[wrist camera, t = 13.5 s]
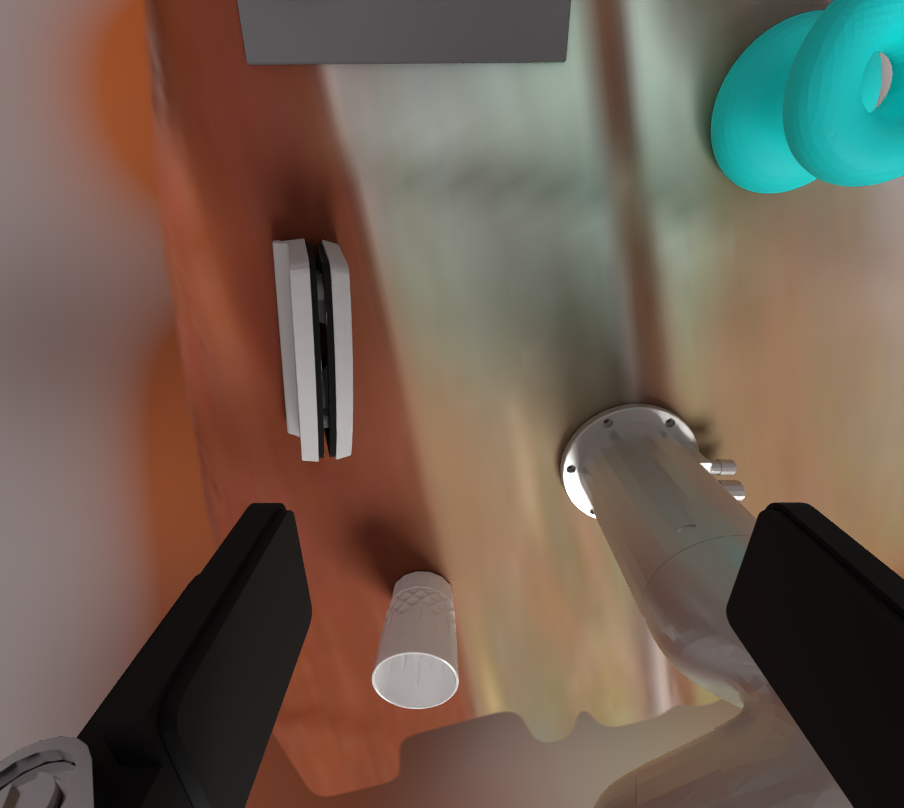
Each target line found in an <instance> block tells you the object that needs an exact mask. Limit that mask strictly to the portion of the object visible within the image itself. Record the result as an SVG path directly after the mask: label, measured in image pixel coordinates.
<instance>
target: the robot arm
mask: <svg viewBox="0 0 904 808" xmlns="http://www.w3.org/2000/svg"><path fill="white" fill-rule="evenodd" d="M606 419H607V420H606ZM605 420H606V421H605ZM560 472H561V480H562V483H563V487H564V489H565V491H566V493H567V496H568V497H569V499H570V500H571V501H572V503H573V504H574V505H575V506H576V507H577V508H578V509H579V510H581V511H582V512H583V513H585V514H587V515H588V516H590V517H593V518H596V519H597V521H598V523H599V525H600V527H601V529H602V531H603V534H604V536H605V538H606V540H607V542H608V544H609V546H610V548H611V550H612V552H613V555H614V557H615V559H616V561H617V563H618V565H619V567H620V569H621V571H622V573H623V576H624V578H625V580H626V582H627V584H628V586H629V588H630V590H631V592H632V595H633V597H634V599H635V601H636V603H637V605H638V607H639V609H640V611H641V613H642V616H643V618H644V620H645V622H646V624H647V626H648V628H649V630H650V632H651V634H652V636H653V638H654V640H655V641H656V643H657V645H658V646H659V648H660V650H661V651H662V652H663V654H664V655H665V656H666V657H667V659H668V660H669V661H670V662H671V663H672V664H673V665H674V666H675V667H676V668H677V669H678V670H679V671H680V672H681V673H682V674H684V675H685V676H686V677H688V678H689V679H690V680H692V681H693V682H694V683H696V684H698V685H699V686H701V687H702V688H704V689H706V690H707V691H709V692H711V693H713V694H714V695H716V696H718V697H720V698H722V699H724V700H726V701H728V702H730V703H732V704H734V705H736V706H737V707H740V708H741V709H742V710H741V712H740V713H739V714H738V715H737V716H735V717H734V718H732V719H730V720H729V721H727V722H725V723H723V724H722V725H720V726H718V727H716V728H715V729H714V731H711V732H709V733H707V734H705V735H703V736H701V737H699V738H697V739H695V740H693V741H691V742H689V743H687V744H685V745H683V746H681V747H678V748H676V749H674V750H672V751H670V752H668V753H666V754H664V755H662V756H660V757H658V758H656V759H654V760H652V761H650V762H648V763H646V764H643V765H642V766H641V767H638V768H637V769H635V770H633V771H631V772H629V773H627V774H626V775H624V776H623V777H621V778H619V779H618V780H616V781H615V782H613V783H612V784H611V785H610V786H609V787H608V788H607V789H606V790H605V791H604V792H603V793H602V794H601V795H600V797H599V799H598V801H597V802H596V804H595V805H594V808H904V579H903V578H901V577H900V576H899V575H898V574H896V573H895V572H894V571H893V570H891V569H890V568H889V567H888V566H886V565H885V564H884V563H883V562H881V561H880V560H879V559H878V558H876V557H875V556H874V555H873V554H871V553H870V552H869V551H868V550H866V549H865V548H864V547H863V546H861V545H860V544H859V543H858V542H856V541H855V540H854V539H853V538H851V537H850V536H849V535H848V534H846V533H845V532H844V531H843V530H841V529H840V528H839V527H838V526H836V525H835V524H834V523H833V522H831V521H830V520H829V519H828V518H826V517H825V516H824V515H823V514H821V513H820V512H819V511H818V510H816V509H815V508H814V507H812V506H811V505H809V504H806V503H771V504H770V505H768V506H767V507H766V509H765V510H764V511H762V512H760V513H759V515H758V518H757V519H756V518H755V517H754V516H753V515H752V514H751V513H750V512H749V511H748V510H747V509H746V508H745V507H744V506H743V505H742V504H741V503H740V501H742V500H743V498H744V492H745V491H744V488H743V485H742V484H741V482H739V481H737V480H716V479H715V478H714V477H713V476H712V475H711V474H717V475H734V474H735V472H736V464H735V462H734V461H733V460H731V459H717V460H708V459H707V458H706V457H704V456H703V455H702V454H701V453H700V452H699V449H698V443H697V441H696V438H695V436H694V433H693V432H692V431H691V429H690V428H689V427H688V425H687V424H686V423H685V422H684V421H683V420H681V419H680V418H679V417H678V416H677V415H675V414H674V413H672V412H671V411H669V410H667V409H664V408H662V407H659V406H655V405H650V404H626V405H620V406H616V407H613V408H610V409H608V410H605V411H603V412H601V413H599V414H597V415H595V416H593V417H592V418H591V419H589V420H588V421H587V422H585V423H584V424H583V425H581V427H580V428H579V429H578V430H577V431H576V432H575V433H574V434H573V435H572V437H571V439H570V440H569V442H568V443H567V445H566V447H565V450H564V452H563V455H562V459H561V465H560ZM311 616H312V606H311V600H310V595H309V590H308V584H307V579H306V574H305V568H304V563H303V558H302V553H301V547H300V542H299V537H298V532H297V526H296V521H295V516H294V513H293V512H292V511H291V510H286V508H285V506H284V505H283V504H282V503H253V504H251V505H250V506H249V507H248V508H247V509H246V511H245V512H244V513H243V515H242V516H241V518H240V519H239V520H238V522H237V523H236V525H235V526H234V527H233V529H232V530H231V531H230V533H229V534H228V536H227V537H226V538H225V540H224V541H223V543H222V544H221V545H220V547H219V548H218V550H217V551H216V552H215V554H214V555H213V557H212V558H211V559H210V561H209V562H208V564H207V565H206V566H205V568H204V569H203V570H202V572H201V573H200V574H199V575H197V576H195V578H194V579H193V580H192V581H191V582H190V583H189V584H188V586H187V587H186V588H185V590H184V591H183V593H182V594H181V595H180V597H179V598H178V600H177V601H176V602H175V604H174V605H173V607H172V608H171V609H170V610H169V612H168V613H167V614H166V616H165V618H164V619H163V620H162V621H161V623H160V624H159V625H158V627H157V628H156V630H155V631H154V633H153V634H152V635H151V637H150V638H149V639H148V641H147V642H146V643H145V645H144V646H143V647H142V649H141V650H140V652H139V653H138V654H137V656H136V657H135V658H134V660H133V661H132V662H131V664H130V665H129V667H128V668H127V669H126V671H125V672H124V673H123V675H122V676H121V678H120V679H119V680H118V682H117V683H116V685H115V686H114V687H113V689H112V690H111V691H110V693H109V694H108V696H107V697H106V698H105V700H104V701H103V702H102V704H101V705H100V707H99V708H98V709H97V710H96V712H95V713H94V715H93V716H92V717H91V719H90V720H89V721H88V723H87V724H86V726H85V727H84V728H83V730H82V731H81V732H80V734H79V735H78V737H77V738H75V737H65V736H59V737H54V738H49V739H45V740H40V741H38V742H36V743H34V744H31V745H29V746H27V747H25V748H22V749H20V750H18V751H16V752H14V753H13V754H11V755H9V756H8V757H6V758H5V759H3V760H2V761H0V808H245V805H246V802H247V800H248V797H249V794H250V791H251V788H252V785H253V783H254V780H255V777H256V774H257V772H258V769H259V766H260V763H261V760H262V758H263V755H264V752H265V749H266V746H267V744H268V740H269V738H270V735H271V732H272V730H273V727H274V724H275V721H276V718H277V716H278V713H279V710H280V707H281V704H282V702H283V699H284V696H285V693H286V690H287V688H288V685H289V682H290V679H291V676H292V674H293V671H294V668H295V665H296V662H297V660H298V657H299V654H300V651H301V648H302V646H303V643H304V640H305V637H306V634H307V632H308V629H309V626H310V622H311Z"/></svg>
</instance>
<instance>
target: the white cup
mask: <svg viewBox="0 0 904 808" xmlns="http://www.w3.org/2000/svg"><path fill="white" fill-rule="evenodd" d="M372 684H373V687H374V689H375V690H376V692H377V693H378V694H379V695H380V696H381V697H382V698H383V699H385V700H386V701H388V702H390V703H392V704H394V705H397V706H400V707H404V708H411V709H423V708H430V707H434V706H437V705H440V704H442V703H444V702H446V701H447V700H448V699H450V698H451V697H452V696H453V695H454V693H455V692H456V690H457V688H458V684H459V677H458V659H457V638H456V626H455V613H454V607H453V593H452V589H451V585H450V584H449V583H448V582H447V581H446V580H445V579H444V578H443V577H442V576H439V575H437V574H434V573H432V572H422V571H416V572H413V573H410V574H407V575H404V576H403V577H402V578H401V579H399V580H398V581H397V582H396V583H395V586H394V590H393V593H392V597H391V602H390V605H389V607H388V610H387V614H386V618H385V622H384V627H383V630H382V633H381V638H380V643H379V647H378V652H377V656H376V661H375V665H374V669H373V674H372Z"/></svg>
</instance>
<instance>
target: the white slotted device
mask: <svg viewBox="0 0 904 808" xmlns="http://www.w3.org/2000/svg"><path fill="white" fill-rule="evenodd" d="M272 243H273V256H274V268H275V281H276V294H277V306H278V319H279V331H280V344H281V357H282V369H283V382H284V394H285V407H286V420H287V432H288V433H290V434H293V435H296V436H299V437H301V449H302V460H304V461H319V458H324V432H325V437H326V441H327V446H328V451H329V455H330V457H333V456H335V459H336V460H337V459H340V458H343V457H346V456H350V455H351V450H352V430H353V352H352V320H351V298H350V278H349V268H348V264H347V262H346V260H345V258H344V256H343V254H342V252H341V249H340V247H339V245H338V244H335V243H332V242H329V241H325V240H322V244H317V259H318V269H319V270H318V271H316V264H315V259H314V255H313V251H312V247H311V243H305V240H304V239H295V240H286V241H280V240H275V241H273V242H272ZM319 322H321V323H323V324H325V325H326V350H327V366H325V367H324V368H322V366H321V345H320V326H319Z"/></svg>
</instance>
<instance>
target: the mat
mask: <svg viewBox="0 0 904 808" xmlns="http://www.w3.org/2000/svg"><path fill="white" fill-rule="evenodd" d="M237 3H238V9H239V15H240V21H241V28H242V34H243V40H244V46H245V53H246V59H247V63H249V64H250V65H281V64H406V63H531V62H565V60H566V54H567V41H568V29H569V17H570V5H571V0H237Z"/></svg>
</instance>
